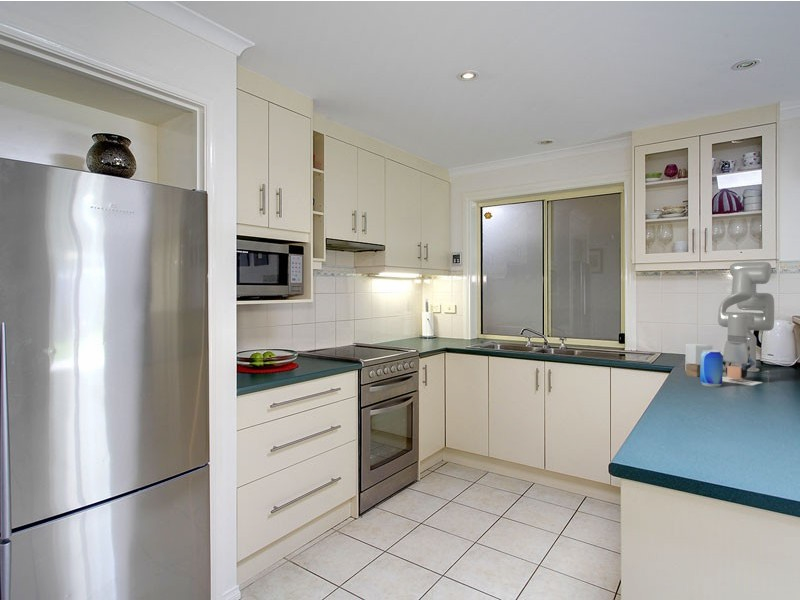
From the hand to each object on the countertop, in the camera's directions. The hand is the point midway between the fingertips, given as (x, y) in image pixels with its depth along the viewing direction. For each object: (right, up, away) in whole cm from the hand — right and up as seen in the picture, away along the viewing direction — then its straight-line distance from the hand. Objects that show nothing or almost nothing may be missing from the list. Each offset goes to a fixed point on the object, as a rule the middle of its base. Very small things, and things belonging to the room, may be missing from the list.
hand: (736, 376), depth 217 cm
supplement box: (-3, -2, +23) cm, 23 cm away
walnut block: (-13, -2, +12) cm, 18 cm away
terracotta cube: (0, -1, 0) cm, 1 cm away
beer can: (-19, -3, -10) cm, 21 cm away
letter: (0, -2, 0) cm, 2 cm away
